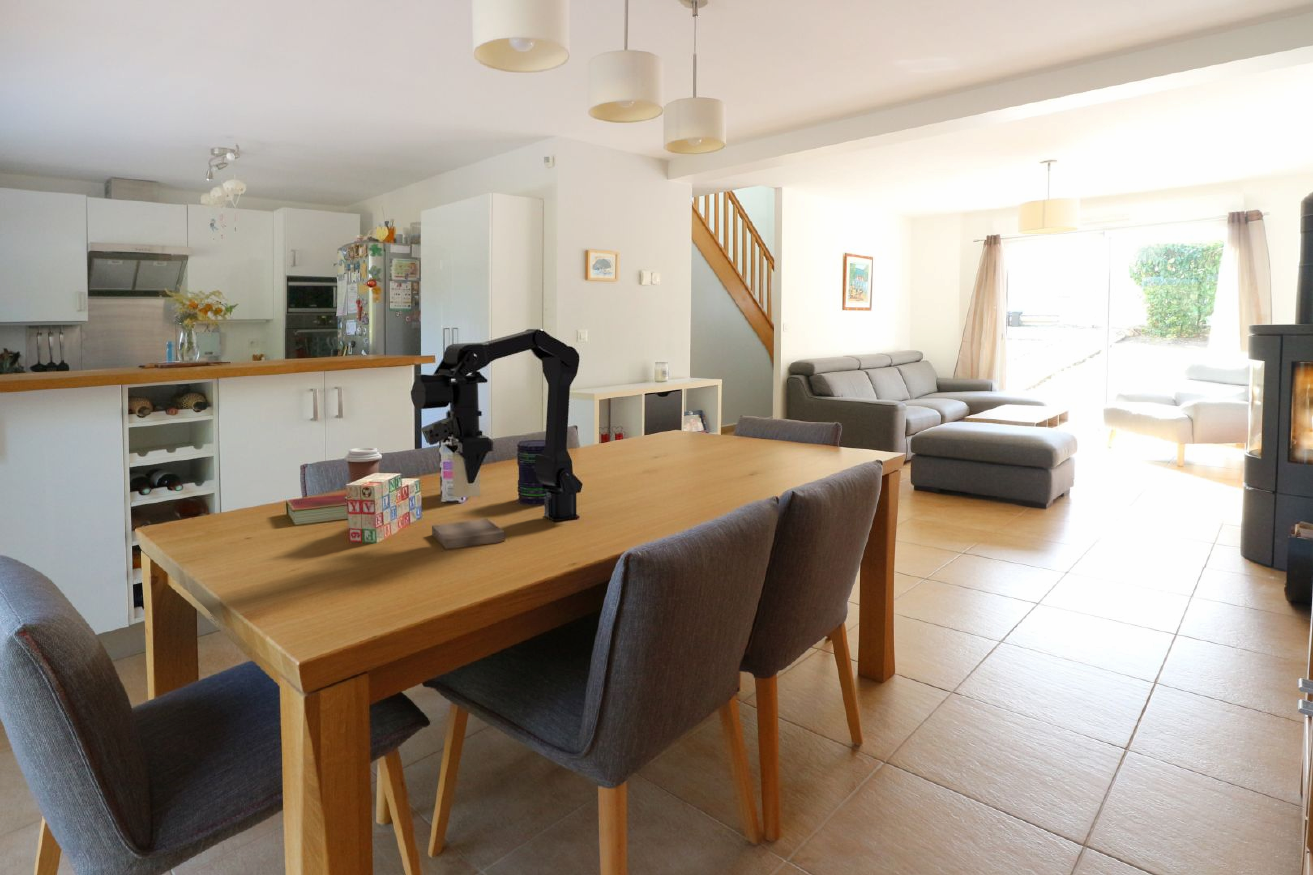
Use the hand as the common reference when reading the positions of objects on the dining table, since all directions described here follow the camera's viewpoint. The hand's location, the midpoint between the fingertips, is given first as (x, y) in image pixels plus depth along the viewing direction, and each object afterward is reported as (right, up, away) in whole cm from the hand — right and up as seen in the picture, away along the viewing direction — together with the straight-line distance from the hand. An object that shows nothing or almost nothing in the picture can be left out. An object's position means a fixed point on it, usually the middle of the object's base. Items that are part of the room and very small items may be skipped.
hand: (466, 480), depth 156 cm
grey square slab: (0, -12, +2) cm, 12 cm away
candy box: (-12, -7, +40) cm, 42 cm away
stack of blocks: (-19, -11, +9) cm, 24 cm away
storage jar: (+9, -7, +36) cm, 38 cm away
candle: (0, -3, +1) cm, 3 cm away
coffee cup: (-37, -6, +42) cm, 56 cm away
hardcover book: (-36, -10, +22) cm, 43 cm away
